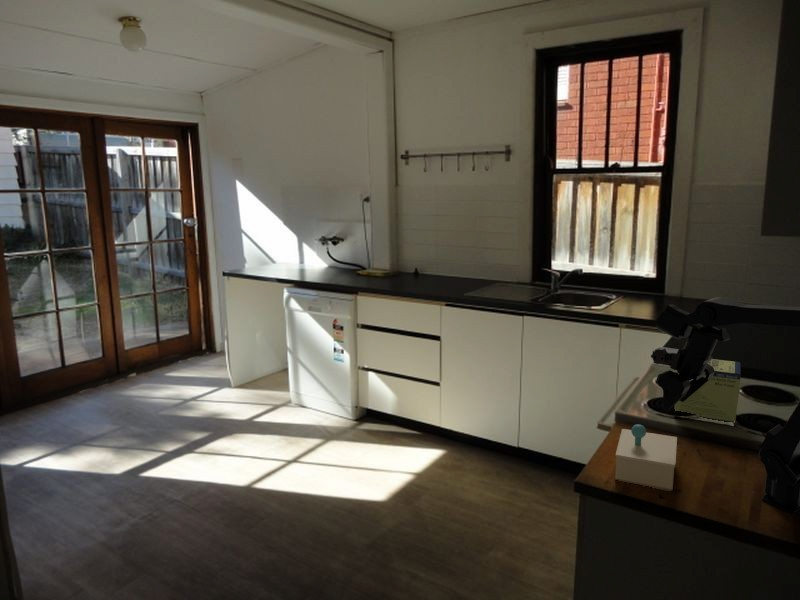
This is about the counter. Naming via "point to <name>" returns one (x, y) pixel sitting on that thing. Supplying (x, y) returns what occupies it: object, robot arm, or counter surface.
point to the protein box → (716, 393)
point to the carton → (645, 473)
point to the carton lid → (647, 446)
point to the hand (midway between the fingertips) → (672, 405)
